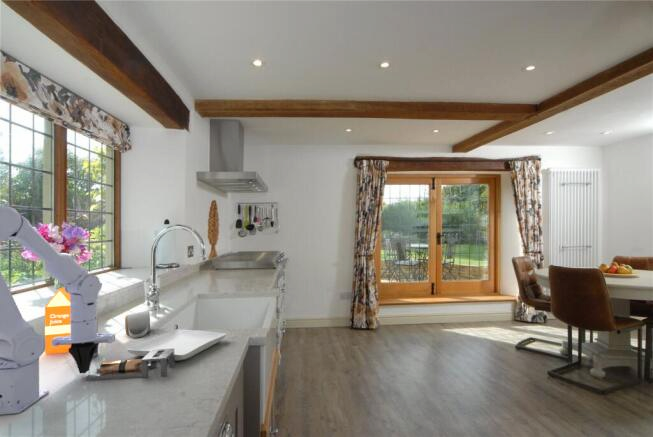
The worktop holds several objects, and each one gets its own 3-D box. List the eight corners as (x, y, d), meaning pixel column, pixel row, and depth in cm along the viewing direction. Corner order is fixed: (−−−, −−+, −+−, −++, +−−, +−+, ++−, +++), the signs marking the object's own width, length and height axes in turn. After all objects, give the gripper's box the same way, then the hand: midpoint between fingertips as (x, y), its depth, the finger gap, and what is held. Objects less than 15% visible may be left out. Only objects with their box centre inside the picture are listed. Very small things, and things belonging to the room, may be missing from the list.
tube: (99, 377, 90) (99, 363, 90) (106, 373, 93) (106, 359, 94) (139, 374, 91) (140, 360, 91) (145, 370, 94) (145, 357, 95)
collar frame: (165, 376, 90) (165, 358, 90) (84, 381, 88) (84, 363, 88) (174, 365, 97) (174, 348, 97) (99, 370, 95) (99, 352, 95)
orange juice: (85, 342, 119) (84, 283, 119) (73, 351, 110) (72, 288, 111) (58, 345, 117) (57, 285, 117) (44, 354, 108) (43, 289, 108)
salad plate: (175, 337, 123) (175, 327, 123) (227, 342, 116) (227, 332, 117) (124, 360, 103) (124, 348, 103) (183, 367, 96) (183, 355, 96)
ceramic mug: (125, 332, 130) (125, 311, 130) (150, 328, 134) (149, 308, 134) (125, 340, 120) (124, 318, 120) (151, 336, 124) (151, 314, 124)
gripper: (120, 314, 96) (120, 363, 96) (63, 317, 95) (64, 367, 94) (107, 321, 89) (107, 374, 89) (45, 324, 88) (46, 378, 87)
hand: (84, 371), depth 91 cm, fingers closed
